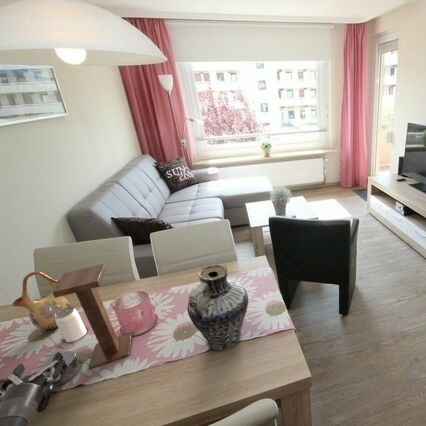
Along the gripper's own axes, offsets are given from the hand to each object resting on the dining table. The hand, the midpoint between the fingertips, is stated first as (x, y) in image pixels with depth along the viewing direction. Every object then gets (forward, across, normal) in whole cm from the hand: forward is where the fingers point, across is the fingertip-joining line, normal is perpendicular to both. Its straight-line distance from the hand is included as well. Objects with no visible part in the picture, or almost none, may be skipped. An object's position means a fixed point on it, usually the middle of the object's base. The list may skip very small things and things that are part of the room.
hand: (41, 360), depth 85 cm
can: (+25, -1, -14) cm, 28 cm away
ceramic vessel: (+37, -10, -14) cm, 40 cm away
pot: (0, 0, -13) cm, 13 cm away
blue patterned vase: (-4, +50, -14) cm, 52 cm away
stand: (+10, +13, -14) cm, 21 cm away
